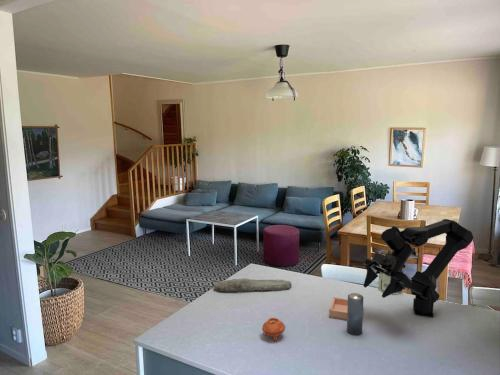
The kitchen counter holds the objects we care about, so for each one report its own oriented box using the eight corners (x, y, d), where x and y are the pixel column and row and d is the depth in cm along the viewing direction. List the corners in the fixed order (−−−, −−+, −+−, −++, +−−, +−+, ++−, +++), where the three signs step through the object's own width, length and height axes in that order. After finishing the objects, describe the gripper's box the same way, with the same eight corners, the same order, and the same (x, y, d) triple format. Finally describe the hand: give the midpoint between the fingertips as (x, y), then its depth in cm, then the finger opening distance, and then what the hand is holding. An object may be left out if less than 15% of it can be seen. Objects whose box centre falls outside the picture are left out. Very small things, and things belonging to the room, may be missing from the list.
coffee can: (400, 285, 169) (401, 255, 167) (404, 295, 159) (406, 263, 157) (376, 284, 172) (377, 254, 169) (379, 293, 162) (380, 262, 159)
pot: (290, 339, 126) (285, 322, 125) (268, 347, 125) (263, 330, 124) (283, 327, 134) (278, 310, 132) (262, 334, 133) (258, 318, 131)
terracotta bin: (363, 308, 148) (363, 301, 148) (361, 322, 138) (361, 314, 137) (333, 304, 152) (333, 297, 152) (329, 317, 142) (329, 310, 141)
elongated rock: (293, 295, 164) (289, 287, 174) (293, 283, 164) (290, 276, 174) (213, 294, 162) (214, 285, 172) (213, 282, 162) (214, 274, 172)
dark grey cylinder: (362, 329, 133) (363, 293, 131) (361, 336, 128) (363, 300, 126) (347, 326, 135) (348, 291, 133) (346, 334, 130) (347, 298, 128)
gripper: (368, 237, 141) (343, 270, 138) (407, 251, 124) (380, 289, 121) (383, 254, 145) (360, 286, 142) (423, 270, 128) (397, 307, 125)
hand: (373, 291), depth 133 cm, fingers open, 9 cm apart
